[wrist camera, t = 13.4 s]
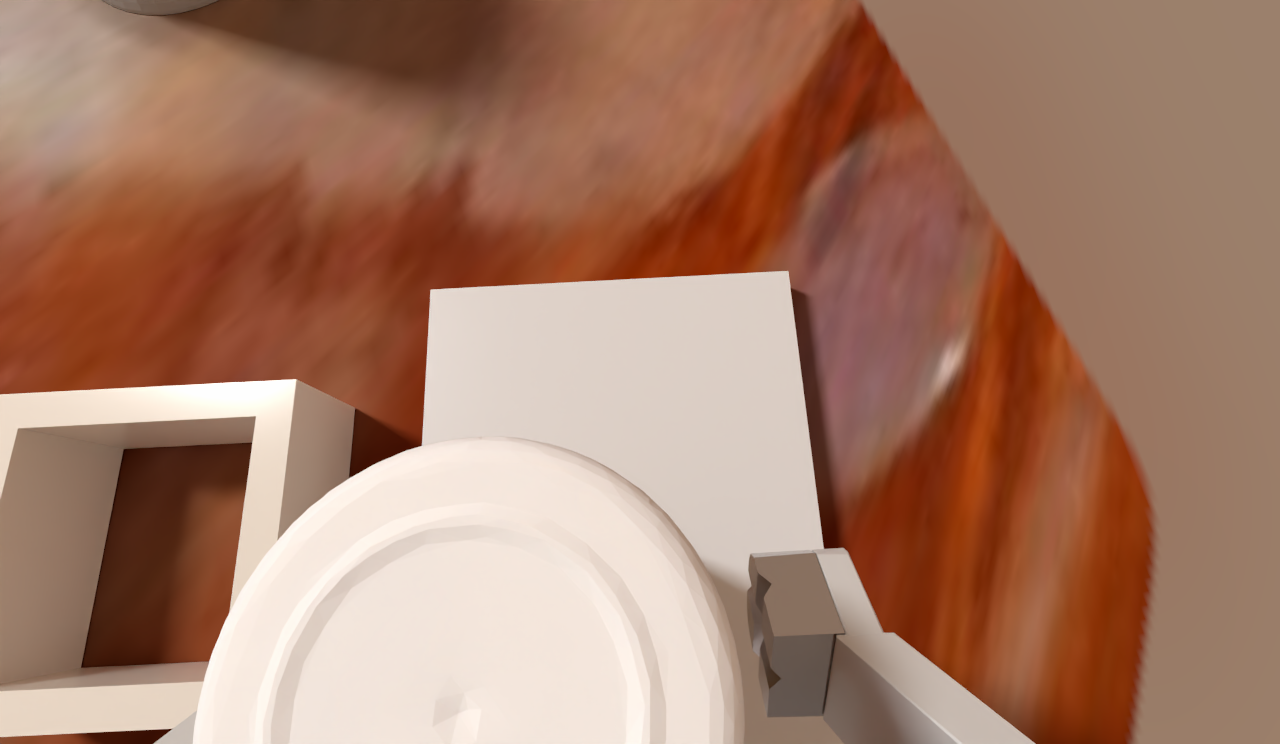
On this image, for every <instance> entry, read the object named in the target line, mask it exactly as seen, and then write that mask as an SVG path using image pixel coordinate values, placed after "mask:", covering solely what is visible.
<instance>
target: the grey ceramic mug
mask: <svg viewBox="0 0 1280 744" xmlns="http://www.w3.org/2000/svg"><path fill="white" fill-rule="evenodd" d="M102 1H104V2H106V3H108V4H109V5H111V6H113V7H115V8H118V9H121V10H124V11H127V12H131V13H137V14H143V15H167V14H175V13H182V12H186V11H190V10H194V9H198V8H201V7H203V6H206V5H208V4H211V3H213V2H216V1H218V0H102Z"/></svg>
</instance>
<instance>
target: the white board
mask: <svg viewBox="0 0 1280 744" xmlns="http://www.w3.org/2000/svg"><path fill="white" fill-rule="evenodd" d="M481 436H500V437H516V438H523V439H528V440H533V441H538V442H543V443H549V444H552V445H556V446H559V447H562V448H565V449H569V450H572V451H574V452H577V453H579V454H582V455H584V456H586V457H589V458H591V459H593V460H595V461H597V462H599V463H601V464H603V465H605V466H606V467H608V468H610V469H612V470H614V471H615V472H617V473H618V474H619V475H621V476H622V477H624V478H625V479H627V480H628V481H629V482H631V483H632V484H634V485H635V486H637V487H638V488H640V489H641V490H642V491H644V492H645V493H646V494H647V495H648V496H649V497H650V498H651V499H652V500H653V501H654V502H655V503H656V504H657V505H658V506H659V507H661V508H662V509H663V510H664V511H665V512H666V513H667V514H668V515H669V516H670V518H671V519H672V520H673V521H674V523H675V524H676V525H677V526H678V528H679V529H680V530H681V532H682V533H683V534H684V535H685V537H686V538H687V539H688V541H689V542H690V543H691V545H692V546H693V547H694V549H695V550H696V552H697V554H698V555H699V557H700V559H701V560H702V562H703V564H704V566H705V567H706V569H707V571H708V572H709V574H710V576H711V578H712V580H713V583H714V585H715V587H716V589H717V592H718V594H719V596H720V598H721V601H722V603H723V605H724V608H725V611H726V614H727V617H728V620H729V624H730V627H731V630H732V633H733V636H734V639H735V644H736V650H737V655H738V660H739V665H740V670H741V678H742V688H743V698H744V718H745V731H744V743H743V744H844V743H843V742H842V741H841V740H840V738H839V737H838V736H837V735H836V734H835V732H834V731H833V730H832V729H831V728H830V727H829V725H828V724H827V723H826V722H825V721H824V720H823V717H824V716H806V717H767V714H766V710H765V705H764V701H763V696H762V692H761V687H760V682H759V678H758V672H759V656H758V655H757V654H756V653H755V652H754V651H753V649H752V644H751V639H750V633H749V627H748V616H747V590H748V589H749V588H750V587H751V581H750V577H749V572H748V566H749V557H750V554H751V553H765V552H782V551H798V550H811V551H812V550H815V549H824V547H823V539H822V531H821V523H820V515H819V508H818V500H817V492H816V484H815V476H814V468H813V461H812V453H811V445H810V437H809V429H808V422H807V414H806V406H805V398H804V390H803V382H802V375H801V367H800V359H799V351H798V343H797V335H796V328H795V320H794V312H793V304H792V296H791V289H790V281H789V273H788V271H778V272H759V273H740V274H721V275H702V276H683V277H664V278H645V279H625V280H606V281H587V282H568V283H549V284H530V285H511V286H492V287H472V288H453V289H434V290H431V293H430V311H429V329H428V348H427V366H426V384H425V402H424V420H423V438H422V446H423V445H427V444H431V443H437V442H442V441H447V440H453V439H460V438H471V437H481Z"/></svg>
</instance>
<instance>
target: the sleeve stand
mask: <svg viewBox="0 0 1280 744" xmlns="http://www.w3.org/2000/svg"><path fill="white" fill-rule="evenodd" d="M354 415H355V408H354V407H352V406H350V405H348V404H346V403H344V402H342V401H340V400H338V399H336V398H334V397H332V396H330V395H328V394H325V393H323V392H321V391H319V390H317V389H315V388H313V387H311V386H309V385H307V384H305V383H303V382H301V381H299V380H297V379H294V380H275V381H255V382H236V383H216V384H197V385H177V386H158V387H138V388H119V389H99V390H80V391H60V392H41V393H21V394H2V395H0V737H9V736H30V735H51V734H72V733H93V732H114V731H135V730H156V729H173V728H175V727H176V726H177V725H178V724H180V723H181V722H182V721H184V720H185V719H186V718H188V717H189V716H190V715H192V714H193V713H194V712H195V711H197V708H198V703H199V698H200V694H201V690H202V686H203V682H204V678H205V674H206V671H207V668H208V665H209V662H190V663H169V664H148V665H128V666H107V667H86V668H81V665H82V660H83V655H84V650H85V644H86V639H87V634H88V629H89V624H90V619H91V614H92V609H93V604H94V598H95V593H96V588H97V583H98V578H99V573H100V568H101V563H102V558H103V552H104V547H105V542H106V537H107V532H108V527H109V522H110V517H111V511H112V506H113V501H114V496H115V491H116V486H117V481H118V476H119V471H120V465H121V460H122V455H123V450H124V449H134V448H154V447H174V446H194V445H213V444H233V443H252V450H251V457H250V465H249V472H248V479H247V487H246V494H245V501H244V509H243V516H242V524H241V531H240V538H239V546H238V553H237V561H236V568H235V575H234V583H233V590H232V597H231V605H230V611H231V609H232V607H233V605H234V603H235V601H236V599H237V597H238V595H239V593H240V591H241V590H242V588H243V587H244V585H245V584H246V582H247V581H248V579H249V578H250V576H251V575H252V574H253V572H254V571H255V569H256V568H257V566H258V565H259V563H260V562H261V560H262V559H263V557H264V556H265V555H266V553H267V552H268V551H269V550H270V549H271V548H272V547H273V545H274V544H275V543H276V542H277V541H278V540H279V538H280V537H281V536H282V535H283V534H284V533H285V532H286V530H287V529H288V528H289V527H290V526H291V525H292V524H293V522H294V521H296V520H297V519H298V518H299V517H300V516H301V515H302V514H303V513H304V512H305V511H306V510H307V509H308V508H309V507H311V506H312V505H313V504H314V503H316V502H317V501H318V500H320V499H321V498H322V497H324V496H325V495H326V494H327V493H328V492H329V491H331V490H332V489H334V488H335V487H337V486H338V485H340V484H341V483H343V482H345V481H346V480H348V479H349V472H350V460H351V449H352V438H353V426H354ZM229 613H230V612H229Z"/></svg>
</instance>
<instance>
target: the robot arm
mask: <svg viewBox="0 0 1280 744" xmlns="http://www.w3.org/2000/svg"><path fill="white" fill-rule="evenodd" d="M748 572H749V577H750V581H751V587H750V588H749V589H748V590H747V616H748V627H749V633H750V639H751V644H752V649H753V651H754V652H755V653H756V654H757V655H758V656H759V672H758V678H759V682H760V687H761V692H762V696H763V701H764V705H765V710H766V714H767V717H806V716H824V717H823V720H824V721H825V722H826V723H827V724H828V725H829V727H830V728H831V729H832V730H833V731H834V732H835V734H836V735H837V736H838V737H839V738H840V740H841V741H842V742H843V743H844V744H1035V743H1034V742H1033V741H1031V740H1030V739H1029V738H1028V737H1026V736H1025V735H1024V734H1023V733H1021V732H1020V731H1019V730H1017V729H1016V728H1015V727H1014V726H1012V725H1011V724H1010V723H1008V722H1007V721H1006V720H1005V719H1003V718H1002V717H1001V716H1000V715H998V714H997V713H996V712H994V711H993V710H992V709H991V708H989V707H988V706H987V705H986V704H984V703H983V702H982V701H980V700H979V699H978V698H977V697H975V696H974V695H973V694H972V693H970V692H969V691H968V690H966V689H965V688H964V687H963V686H961V685H960V684H959V683H957V682H956V681H955V680H954V679H952V678H951V677H950V676H949V675H947V674H946V673H945V672H943V671H942V670H941V669H940V668H938V667H937V666H936V665H935V664H933V663H932V662H931V661H929V660H928V659H927V658H926V657H924V656H923V655H922V654H921V653H919V652H918V651H917V650H915V649H914V648H913V647H912V646H910V645H909V644H908V643H906V642H905V641H904V640H903V639H901V638H900V637H899V636H898V635H896V634H895V633H884V632H883V629H882V627H881V625H880V623H879V620H878V618H877V616H876V614H875V611H874V609H873V607H872V605H871V602H870V600H869V598H868V596H867V593H866V591H865V589H864V587H863V584H862V582H861V580H860V578H859V575H858V573H857V571H856V569H855V566H854V564H853V562H852V560H851V557H850V555H849V553H848V552H847V551H846V550H845V549H844V548H832V549H815V550H812V551H811V550H798V551H782V552H765V553H751V554H750V557H749V566H748ZM196 714H197V711H195V712H194V713H193V714H192V715H190V716H189V717H188V718H186V719H185V720H184V721H182V722H181V723H180V724H178V725H177V726H176V727H175V728H173V729H172V730H171V731H169V732H168V733H167V734H165V735H164V736H163V737H161V738H160V739H159V740H158V741H156V742H155V743H154V744H193V734H194V725H195V719H196Z"/></svg>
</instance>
